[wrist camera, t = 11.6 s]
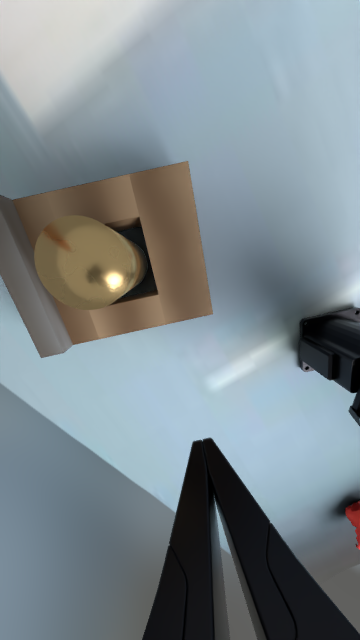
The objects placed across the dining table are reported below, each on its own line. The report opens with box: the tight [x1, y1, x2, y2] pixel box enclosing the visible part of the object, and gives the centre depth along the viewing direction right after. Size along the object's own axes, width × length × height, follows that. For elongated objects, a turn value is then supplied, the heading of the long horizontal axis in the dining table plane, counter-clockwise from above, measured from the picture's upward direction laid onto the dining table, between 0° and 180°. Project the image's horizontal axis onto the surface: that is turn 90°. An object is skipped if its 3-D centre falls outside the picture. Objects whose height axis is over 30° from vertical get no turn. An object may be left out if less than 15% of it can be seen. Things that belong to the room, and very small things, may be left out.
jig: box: [0, 161, 213, 358], centre depth 15 cm, size 14×11×5 cm
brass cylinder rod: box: [34, 215, 148, 310], centre depth 13 cm, size 4×4×9 cm
